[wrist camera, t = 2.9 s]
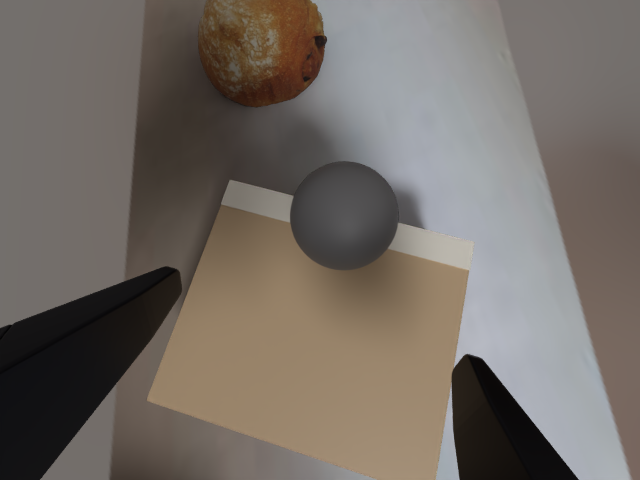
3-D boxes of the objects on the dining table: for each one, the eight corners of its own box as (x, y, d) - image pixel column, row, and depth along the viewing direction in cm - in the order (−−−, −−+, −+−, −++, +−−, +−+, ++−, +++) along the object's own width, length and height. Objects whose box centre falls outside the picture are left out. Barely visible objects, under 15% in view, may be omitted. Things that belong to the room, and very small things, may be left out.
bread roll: (248, 53, 29) (180, -26, 22) (336, 8, 24) (286, -110, 17) (241, 135, 27) (163, 76, 20) (336, 102, 22) (279, 10, 15)
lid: (427, 489, 13) (537, 694, 6) (154, 396, 14) (-4, 482, 7) (469, 238, 16) (577, 189, 9) (236, 178, 17) (175, 96, 10)
